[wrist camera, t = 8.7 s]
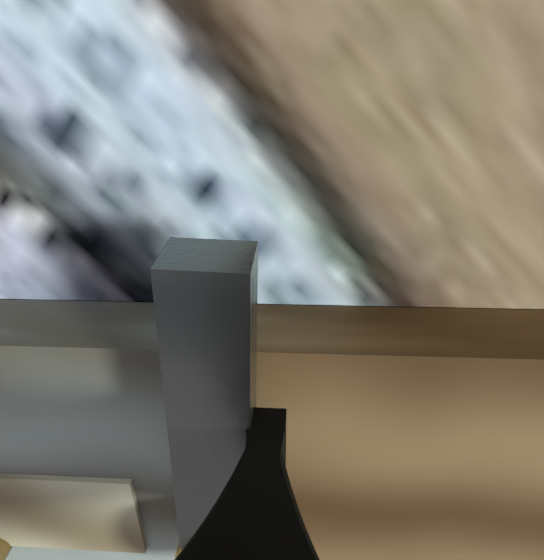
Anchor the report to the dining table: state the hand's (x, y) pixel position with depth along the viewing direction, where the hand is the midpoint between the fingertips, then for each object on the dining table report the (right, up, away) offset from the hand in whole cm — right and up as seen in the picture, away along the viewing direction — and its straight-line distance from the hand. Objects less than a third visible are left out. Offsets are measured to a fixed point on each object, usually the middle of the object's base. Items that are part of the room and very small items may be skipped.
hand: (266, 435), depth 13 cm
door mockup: (-1, -3, +6) cm, 6 cm away
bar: (-1, 0, +1) cm, 2 cm away
